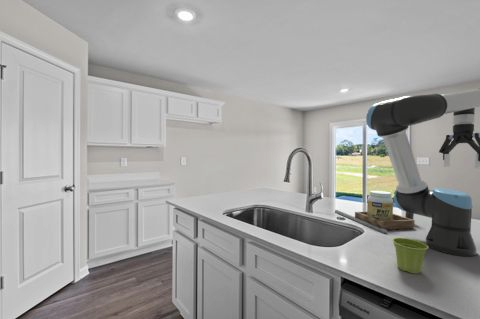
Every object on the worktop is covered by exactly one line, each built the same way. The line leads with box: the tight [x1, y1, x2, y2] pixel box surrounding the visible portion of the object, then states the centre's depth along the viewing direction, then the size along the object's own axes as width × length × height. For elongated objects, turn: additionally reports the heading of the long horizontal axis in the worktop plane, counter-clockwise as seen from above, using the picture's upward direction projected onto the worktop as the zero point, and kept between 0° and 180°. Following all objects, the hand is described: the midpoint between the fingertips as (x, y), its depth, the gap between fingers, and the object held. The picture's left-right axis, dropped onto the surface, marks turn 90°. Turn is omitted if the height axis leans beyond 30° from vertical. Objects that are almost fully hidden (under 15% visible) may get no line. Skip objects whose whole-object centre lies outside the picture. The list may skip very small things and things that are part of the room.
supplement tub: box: [366, 190, 394, 221], centre depth 128 cm, size 12×12×17 cm
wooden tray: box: [354, 211, 416, 231], centre depth 127 cm, size 19×28×12 cm
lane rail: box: [334, 209, 388, 235], centre depth 130 cm, size 40×1×2 cm, turn 11°
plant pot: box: [392, 237, 429, 274], centre depth 76 cm, size 9×9×9 cm
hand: (461, 167), depth 114 cm, fingers open, 13 cm apart
